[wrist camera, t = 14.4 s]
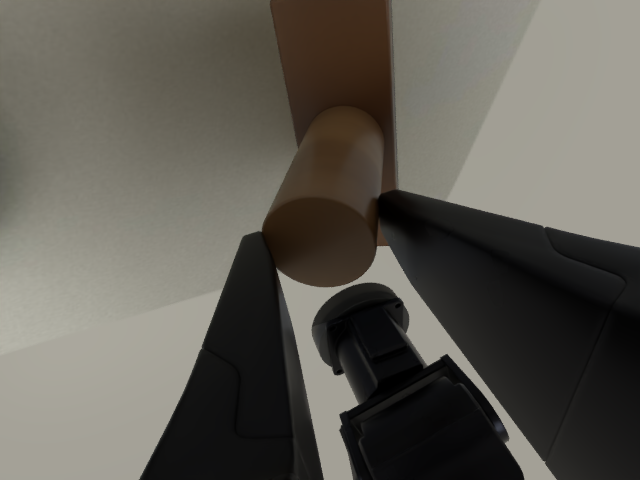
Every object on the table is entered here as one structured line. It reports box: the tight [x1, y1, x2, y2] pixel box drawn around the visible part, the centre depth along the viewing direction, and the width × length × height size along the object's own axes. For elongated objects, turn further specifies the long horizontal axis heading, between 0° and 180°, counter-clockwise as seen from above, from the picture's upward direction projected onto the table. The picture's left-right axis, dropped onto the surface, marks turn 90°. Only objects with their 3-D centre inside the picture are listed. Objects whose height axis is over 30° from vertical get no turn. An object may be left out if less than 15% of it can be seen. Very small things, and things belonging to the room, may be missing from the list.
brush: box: [262, 0, 399, 287], centre depth 11 cm, size 8×3×8 cm, turn 9°
